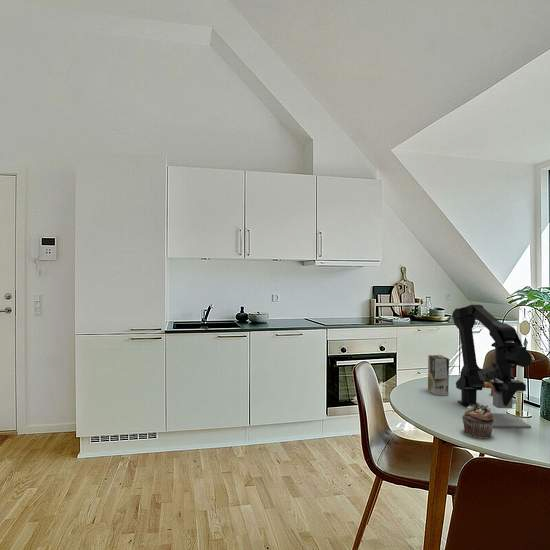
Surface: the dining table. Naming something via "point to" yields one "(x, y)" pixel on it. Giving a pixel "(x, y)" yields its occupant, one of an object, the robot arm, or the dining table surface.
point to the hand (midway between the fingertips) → (502, 403)
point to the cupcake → (478, 420)
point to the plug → (501, 400)
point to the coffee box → (438, 374)
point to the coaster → (508, 421)
